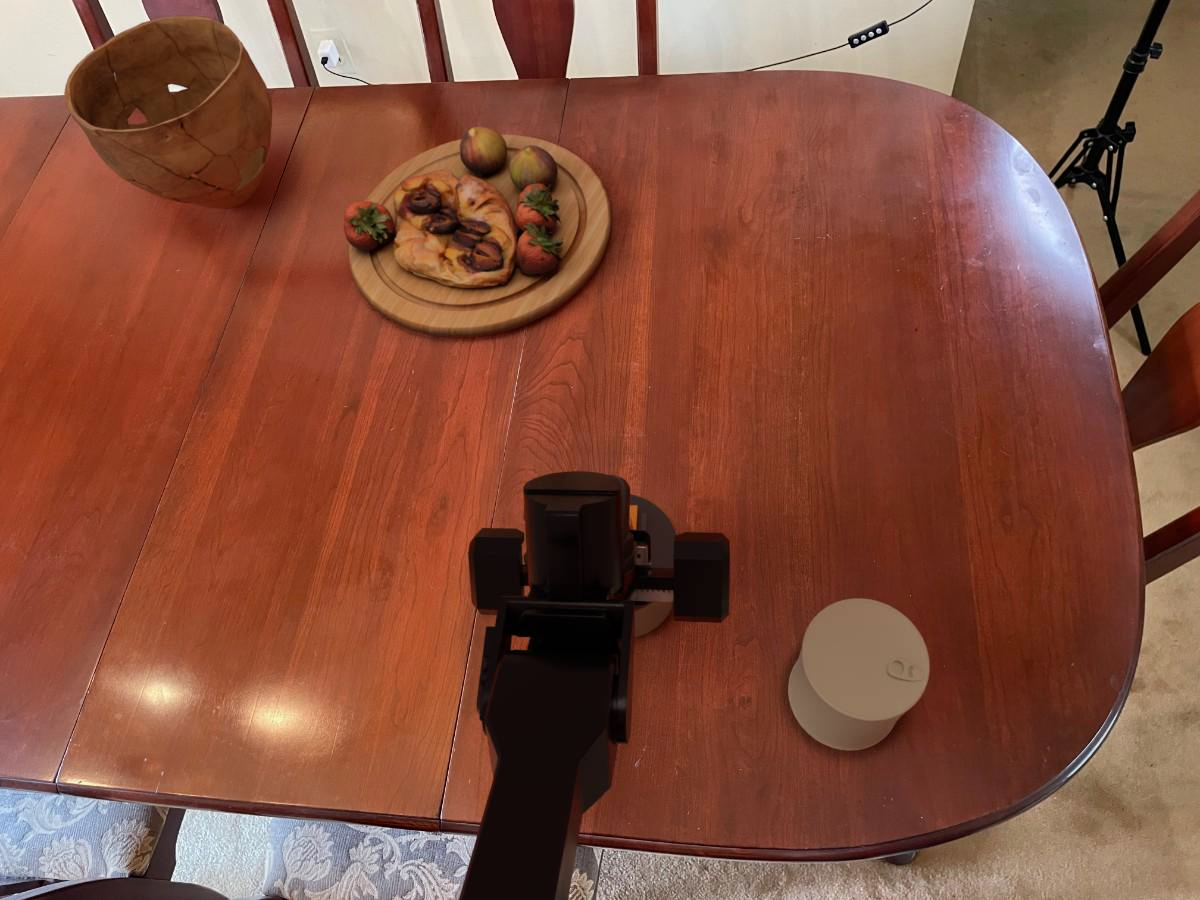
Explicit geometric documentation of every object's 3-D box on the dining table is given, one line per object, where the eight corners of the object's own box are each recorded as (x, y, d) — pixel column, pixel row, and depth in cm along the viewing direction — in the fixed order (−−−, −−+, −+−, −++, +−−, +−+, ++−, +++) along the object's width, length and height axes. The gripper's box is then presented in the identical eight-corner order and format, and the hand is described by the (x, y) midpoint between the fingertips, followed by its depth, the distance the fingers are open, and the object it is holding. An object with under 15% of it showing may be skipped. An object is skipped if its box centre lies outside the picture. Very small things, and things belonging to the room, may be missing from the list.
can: (886, 767, 69) (918, 739, 59) (775, 728, 71) (787, 694, 61) (909, 661, 73) (943, 617, 63) (803, 627, 75) (818, 579, 65)
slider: (636, 541, 71) (633, 525, 68) (593, 540, 72) (589, 524, 69) (637, 507, 73) (635, 490, 70) (596, 506, 73) (592, 489, 70)
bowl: (207, 138, 118) (122, 2, 101) (337, 154, 113) (271, 14, 96) (130, 249, 109) (21, 121, 91) (268, 271, 104) (181, 140, 87)
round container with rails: (680, 645, 76) (677, 611, 68) (561, 641, 77) (544, 607, 69) (682, 534, 81) (680, 490, 73) (571, 532, 82) (556, 488, 74)
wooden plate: (318, 334, 98) (288, 287, 91) (393, 143, 113) (372, 90, 106) (589, 352, 93) (579, 304, 86) (629, 148, 108) (624, 93, 101)
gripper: (733, 505, 51) (728, 438, 66) (434, 500, 54) (495, 437, 68) (730, 670, 54) (726, 570, 69) (448, 658, 57) (503, 564, 71)
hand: (612, 532), depth 69 cm, fingers closed, pressing on slider
